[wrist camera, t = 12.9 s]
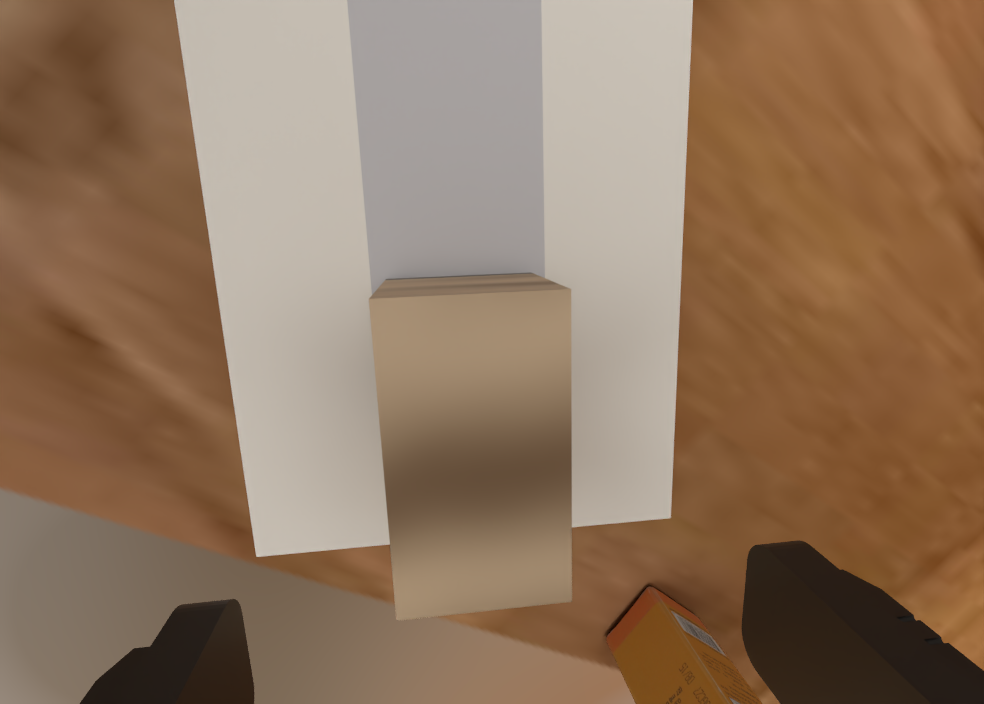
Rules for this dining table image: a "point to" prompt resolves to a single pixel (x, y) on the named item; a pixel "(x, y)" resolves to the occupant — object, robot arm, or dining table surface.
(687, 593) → the dining table surface
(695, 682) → the supplement box
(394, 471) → the block
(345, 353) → the board
